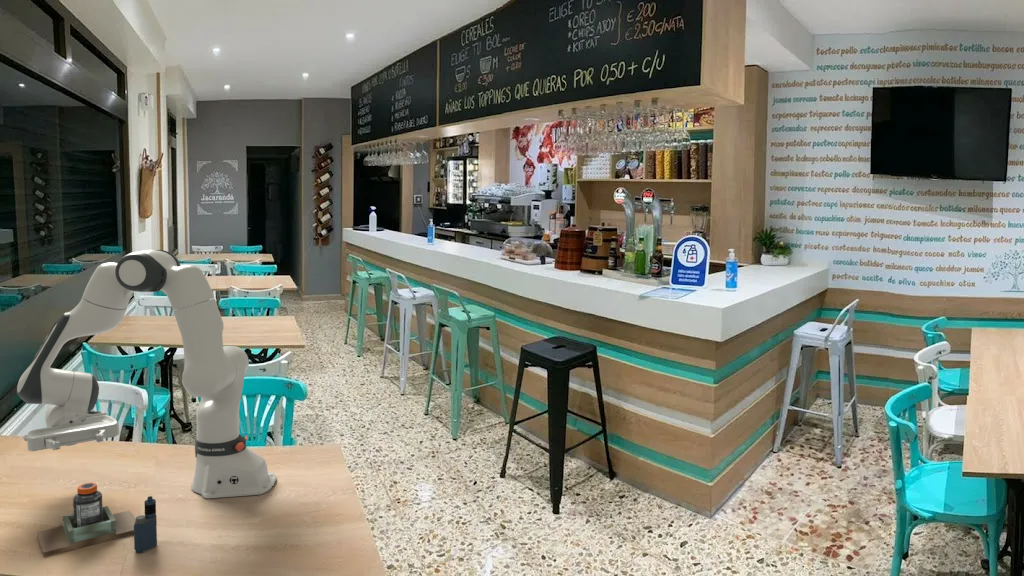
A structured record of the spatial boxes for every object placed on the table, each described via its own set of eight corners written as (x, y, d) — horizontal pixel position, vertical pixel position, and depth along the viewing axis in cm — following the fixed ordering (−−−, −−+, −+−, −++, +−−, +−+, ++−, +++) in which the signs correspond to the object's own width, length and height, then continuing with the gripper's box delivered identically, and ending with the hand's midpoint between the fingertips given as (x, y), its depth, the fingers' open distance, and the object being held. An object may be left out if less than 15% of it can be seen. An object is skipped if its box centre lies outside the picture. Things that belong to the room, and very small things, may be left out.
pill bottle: (82, 524, 171) (80, 480, 170) (108, 524, 172) (106, 480, 170) (69, 535, 165) (67, 490, 164) (95, 535, 166) (94, 490, 164)
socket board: (130, 513, 180) (129, 499, 179) (141, 532, 171) (140, 516, 170) (36, 535, 167) (35, 519, 166) (43, 556, 158) (42, 539, 157)
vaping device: (159, 544, 165) (158, 496, 163) (139, 554, 160) (138, 504, 159) (152, 542, 166) (150, 494, 165) (132, 551, 161) (130, 502, 160)
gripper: (21, 424, 179) (27, 439, 168) (111, 409, 192) (123, 422, 181) (23, 447, 180) (29, 464, 169) (113, 431, 193) (124, 446, 182)
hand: (78, 442), depth 175 cm, fingers open, 8 cm apart
